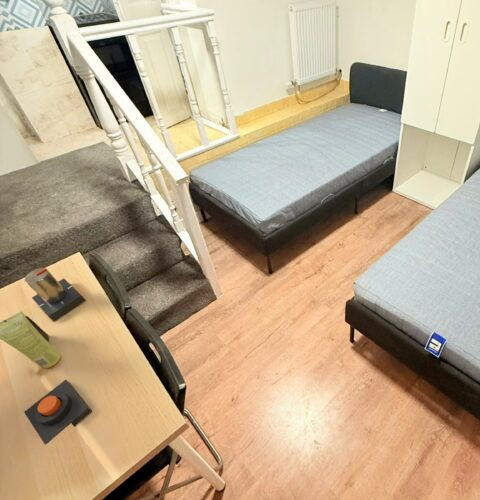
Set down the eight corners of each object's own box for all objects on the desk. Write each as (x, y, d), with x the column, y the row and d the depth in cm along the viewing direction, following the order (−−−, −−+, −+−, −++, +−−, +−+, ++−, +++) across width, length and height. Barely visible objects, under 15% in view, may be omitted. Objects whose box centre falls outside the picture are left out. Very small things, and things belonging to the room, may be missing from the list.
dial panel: (37, 303, 108) (30, 297, 106) (69, 283, 114) (63, 277, 111) (53, 322, 102) (47, 316, 100) (86, 300, 108) (81, 294, 106)
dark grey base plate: (29, 414, 83) (18, 408, 80) (70, 382, 88) (61, 376, 86) (50, 447, 78) (39, 441, 75) (92, 410, 83) (83, 404, 80)
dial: (50, 306, 103) (29, 285, 96) (42, 298, 105) (20, 276, 98) (70, 294, 106) (50, 272, 99) (61, 285, 109) (41, 264, 102)
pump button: (39, 409, 80) (34, 405, 79) (57, 395, 83) (52, 392, 81) (47, 419, 79) (41, 416, 77) (64, 405, 81) (59, 402, 79)
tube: (49, 349, 96) (2, 309, 82) (66, 350, 95) (21, 310, 82) (36, 368, 92) (-16, 329, 78) (53, 369, 91) (3, 330, 78)
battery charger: (34, 339, 98) (8, 317, 90) (49, 334, 99) (24, 312, 91) (32, 359, 94) (4, 338, 86) (47, 353, 95) (21, 331, 87)
